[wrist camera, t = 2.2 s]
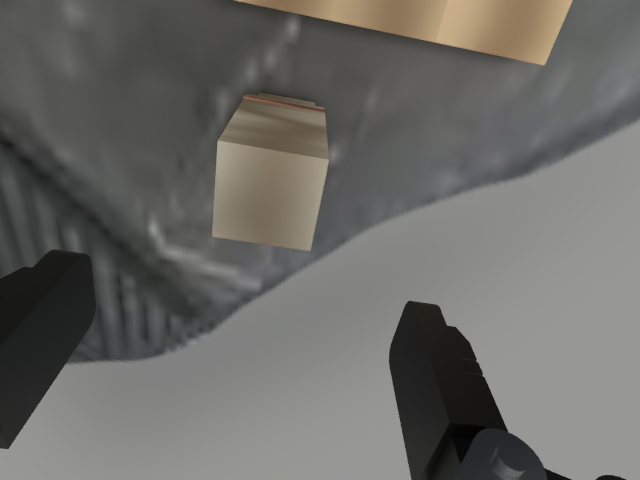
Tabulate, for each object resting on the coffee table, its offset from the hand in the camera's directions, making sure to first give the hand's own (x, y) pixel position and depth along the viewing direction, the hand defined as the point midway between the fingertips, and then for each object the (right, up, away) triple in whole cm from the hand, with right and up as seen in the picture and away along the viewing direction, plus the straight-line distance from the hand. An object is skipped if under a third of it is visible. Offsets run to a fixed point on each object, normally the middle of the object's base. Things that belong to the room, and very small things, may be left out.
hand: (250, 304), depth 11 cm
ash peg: (0, +8, +14) cm, 16 cm away
